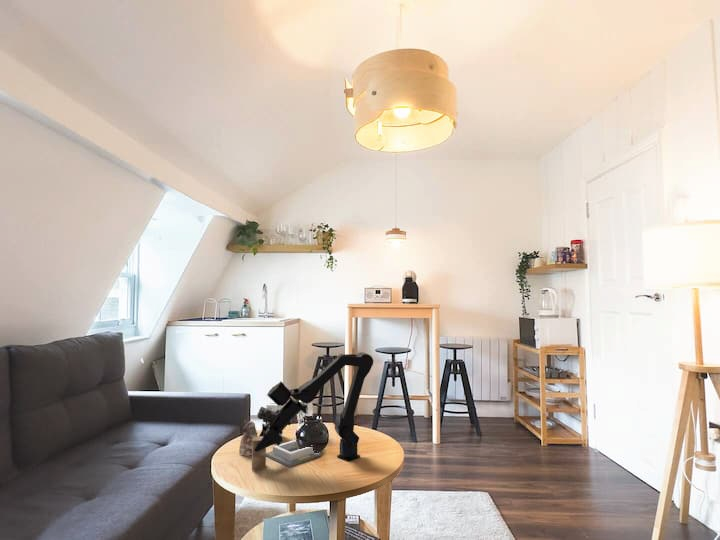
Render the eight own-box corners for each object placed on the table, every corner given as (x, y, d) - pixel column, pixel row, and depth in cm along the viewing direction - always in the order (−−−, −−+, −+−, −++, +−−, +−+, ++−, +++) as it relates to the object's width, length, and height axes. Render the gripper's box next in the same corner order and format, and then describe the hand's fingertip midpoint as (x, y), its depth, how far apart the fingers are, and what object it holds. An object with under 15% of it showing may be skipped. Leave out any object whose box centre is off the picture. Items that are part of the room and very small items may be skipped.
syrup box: (265, 439, 173) (265, 404, 174) (270, 434, 178) (271, 401, 180) (278, 440, 172) (278, 405, 173) (282, 435, 178) (283, 401, 179)
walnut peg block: (264, 464, 146) (265, 435, 147) (265, 469, 142) (266, 439, 143) (251, 465, 145) (252, 436, 146) (252, 470, 141) (252, 441, 141)
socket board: (320, 455, 154) (321, 446, 155) (288, 467, 144) (288, 457, 144) (296, 446, 165) (297, 437, 165) (265, 456, 154) (265, 446, 154)
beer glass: (315, 433, 180) (315, 399, 181) (308, 438, 174) (308, 402, 175) (301, 432, 182) (301, 398, 184) (293, 436, 176) (294, 401, 177)
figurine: (247, 457, 152) (248, 424, 153) (235, 453, 156) (236, 421, 157) (262, 451, 158) (262, 420, 159) (249, 448, 162) (250, 417, 163)
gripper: (269, 393, 155) (238, 425, 151) (273, 405, 137) (238, 442, 133) (289, 413, 157) (259, 445, 153) (296, 427, 139) (262, 464, 135)
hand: (254, 448), depth 143 cm, fingers closed on walnut peg block, 4 cm apart
